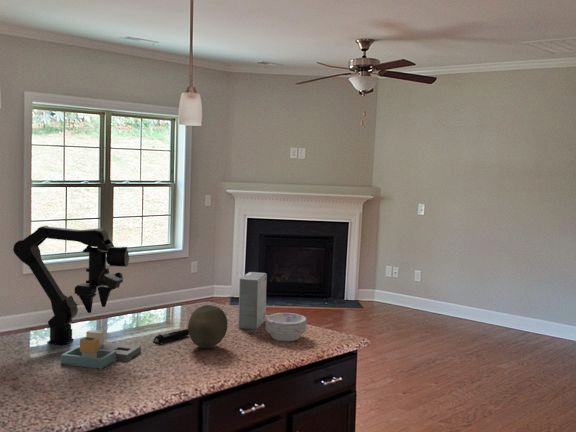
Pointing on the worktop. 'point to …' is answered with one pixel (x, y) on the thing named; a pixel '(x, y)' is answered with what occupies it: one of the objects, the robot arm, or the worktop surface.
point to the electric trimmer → (170, 336)
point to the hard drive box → (252, 300)
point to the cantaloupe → (207, 326)
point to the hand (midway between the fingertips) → (96, 309)
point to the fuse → (97, 335)
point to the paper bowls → (285, 326)
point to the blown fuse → (89, 346)
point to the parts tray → (88, 358)
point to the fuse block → (122, 350)
